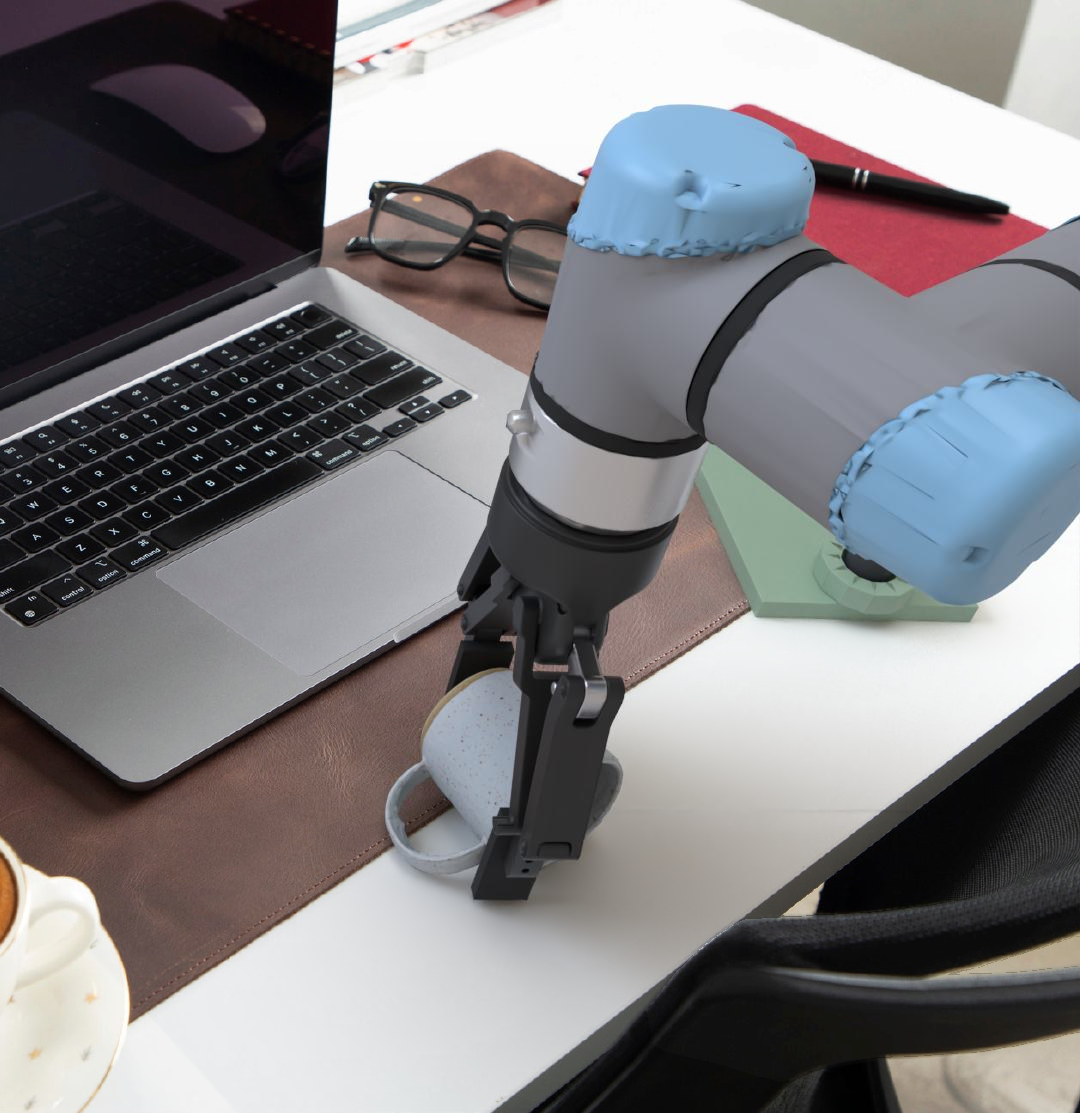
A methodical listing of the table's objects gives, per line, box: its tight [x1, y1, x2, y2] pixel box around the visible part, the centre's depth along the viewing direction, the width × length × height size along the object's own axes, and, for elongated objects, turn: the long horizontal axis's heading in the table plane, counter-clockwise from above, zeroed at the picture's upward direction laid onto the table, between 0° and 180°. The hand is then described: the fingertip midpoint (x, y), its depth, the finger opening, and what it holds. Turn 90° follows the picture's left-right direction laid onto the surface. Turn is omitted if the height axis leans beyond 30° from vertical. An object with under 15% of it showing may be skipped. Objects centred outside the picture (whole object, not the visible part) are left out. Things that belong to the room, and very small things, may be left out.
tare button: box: [845, 551, 892, 582], centre depth 89 cm, size 3×3×2 cm
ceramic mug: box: [384, 668, 624, 875], centre depth 73 cm, size 11×8×8 cm
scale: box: [694, 444, 979, 623], centre depth 94 cm, size 17×14×3 cm
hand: (479, 806), depth 75 cm, fingers closed on ceramic mug, 10 cm apart
